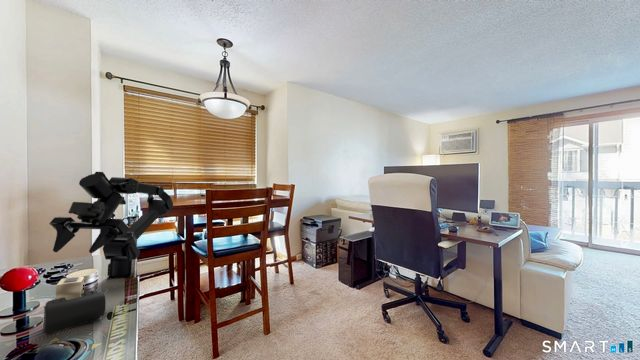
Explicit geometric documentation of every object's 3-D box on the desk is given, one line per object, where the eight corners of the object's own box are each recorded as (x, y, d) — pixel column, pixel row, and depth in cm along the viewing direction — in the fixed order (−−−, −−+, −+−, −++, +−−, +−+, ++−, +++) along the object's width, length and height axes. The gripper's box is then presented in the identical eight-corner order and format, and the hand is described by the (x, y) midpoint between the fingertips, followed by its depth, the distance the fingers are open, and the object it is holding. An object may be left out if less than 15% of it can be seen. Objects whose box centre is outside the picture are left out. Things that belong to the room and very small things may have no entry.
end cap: (43, 342, 52) (46, 310, 52) (40, 328, 56) (42, 299, 56) (104, 322, 60) (106, 295, 60) (98, 311, 64) (99, 286, 64)
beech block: (83, 292, 74) (85, 275, 74) (80, 298, 70) (81, 281, 70) (60, 295, 71) (61, 278, 71) (55, 303, 67) (56, 284, 67)
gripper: (56, 190, 72) (12, 236, 61) (123, 193, 74) (91, 238, 63) (79, 211, 80) (43, 256, 69) (139, 214, 82) (113, 257, 71)
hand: (72, 252), depth 68 cm, fingers open, 9 cm apart
